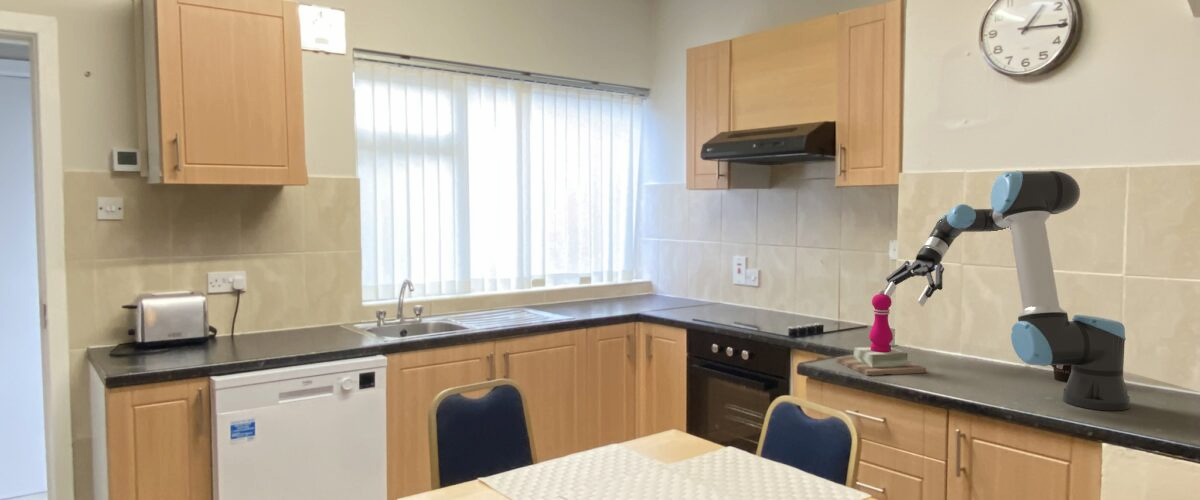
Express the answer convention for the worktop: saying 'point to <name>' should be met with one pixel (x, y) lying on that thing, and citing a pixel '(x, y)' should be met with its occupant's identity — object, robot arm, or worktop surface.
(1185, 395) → the worktop surface
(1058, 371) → the coffee mug
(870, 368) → the base
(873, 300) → the pepper mill
